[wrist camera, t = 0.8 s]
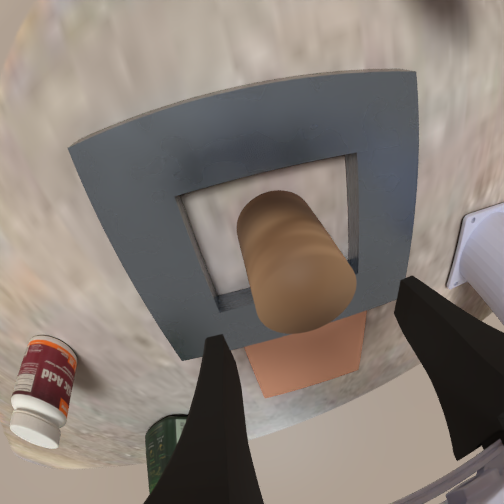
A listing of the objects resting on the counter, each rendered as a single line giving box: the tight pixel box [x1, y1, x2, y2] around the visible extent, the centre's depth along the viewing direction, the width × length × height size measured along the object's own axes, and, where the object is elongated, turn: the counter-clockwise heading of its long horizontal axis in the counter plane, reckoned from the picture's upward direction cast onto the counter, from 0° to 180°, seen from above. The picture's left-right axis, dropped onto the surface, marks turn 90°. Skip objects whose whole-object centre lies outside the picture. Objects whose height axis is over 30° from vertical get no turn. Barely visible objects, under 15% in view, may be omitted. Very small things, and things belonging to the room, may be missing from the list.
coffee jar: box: [145, 416, 187, 493], centre depth 24 cm, size 10×8×19 cm
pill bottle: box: [10, 336, 77, 449], centre depth 17 cm, size 5×5×8 cm
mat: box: [244, 310, 367, 398], centre depth 25 cm, size 10×10×1 cm
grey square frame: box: [68, 69, 419, 361], centre depth 17 cm, size 17×16×2 cm
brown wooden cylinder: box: [237, 190, 356, 334], centre depth 15 cm, size 4×4×6 cm
